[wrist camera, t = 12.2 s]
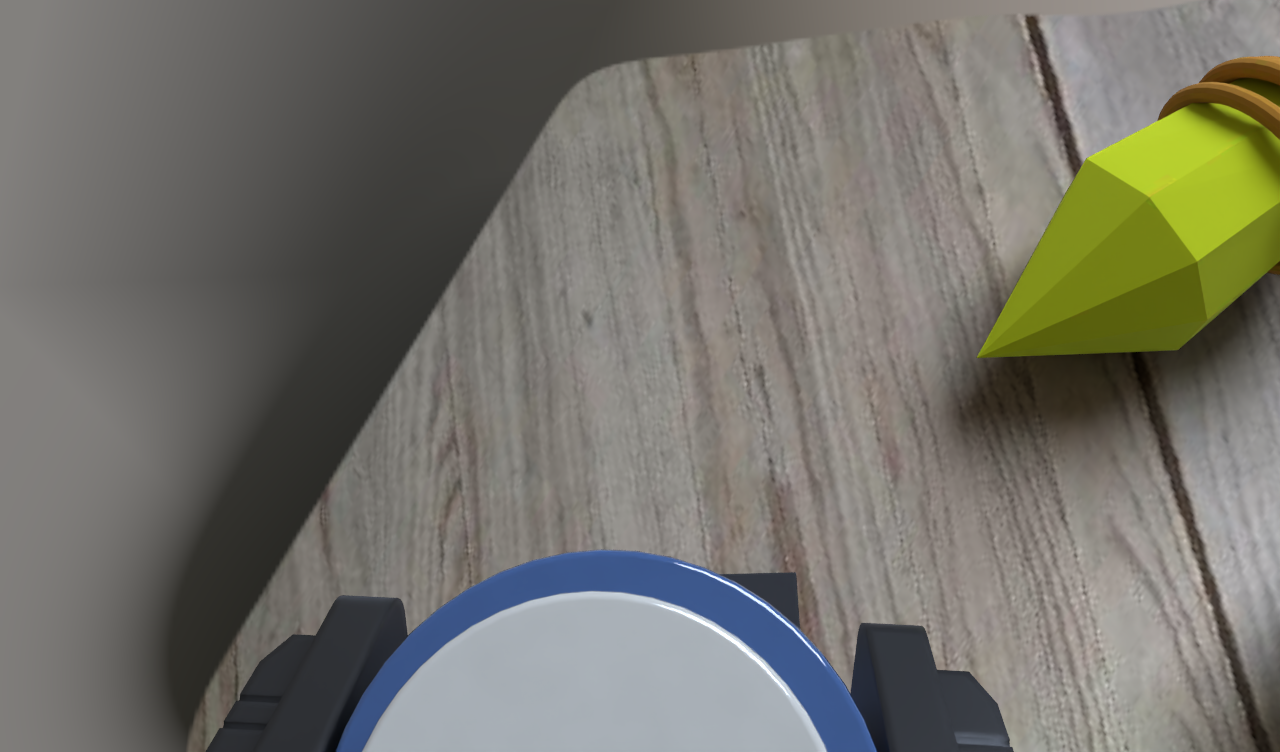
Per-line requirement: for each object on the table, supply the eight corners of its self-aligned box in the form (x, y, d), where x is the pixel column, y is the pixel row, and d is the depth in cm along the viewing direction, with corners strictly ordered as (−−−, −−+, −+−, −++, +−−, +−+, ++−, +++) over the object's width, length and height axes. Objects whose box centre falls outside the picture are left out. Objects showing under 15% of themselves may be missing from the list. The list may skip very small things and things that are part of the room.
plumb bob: (1046, 483, 43) (1526, 158, 44) (1065, 390, 35) (1647, -3, 36) (912, 336, 48) (1347, 45, 49) (903, 225, 40) (1420, -119, 41)
